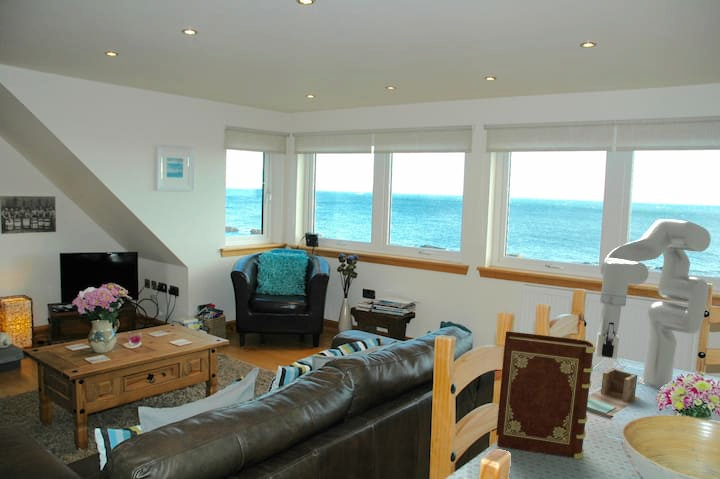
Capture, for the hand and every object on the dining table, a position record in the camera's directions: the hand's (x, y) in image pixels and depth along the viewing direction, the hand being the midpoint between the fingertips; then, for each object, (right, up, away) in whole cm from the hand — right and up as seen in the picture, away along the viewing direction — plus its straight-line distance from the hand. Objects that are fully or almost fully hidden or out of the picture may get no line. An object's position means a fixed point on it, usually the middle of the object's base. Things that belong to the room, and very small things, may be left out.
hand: (606, 353), depth 179 cm
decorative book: (-32, -19, -30) cm, 48 cm away
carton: (0, -1, 0) cm, 1 cm away
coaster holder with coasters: (+3, -18, +5) cm, 19 cm away
